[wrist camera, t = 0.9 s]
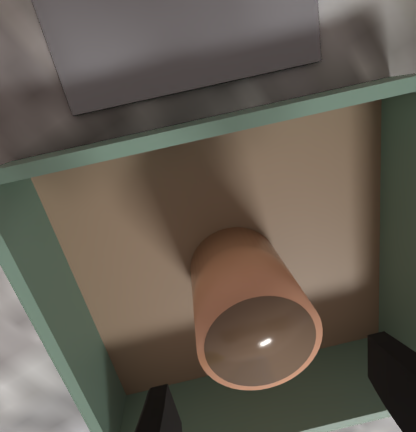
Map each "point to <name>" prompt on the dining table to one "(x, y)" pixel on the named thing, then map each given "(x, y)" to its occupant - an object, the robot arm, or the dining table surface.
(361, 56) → the dining table surface
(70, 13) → the mat
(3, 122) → the dining table surface
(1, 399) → the dining table surface
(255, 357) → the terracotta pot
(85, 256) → the green shallow tray
